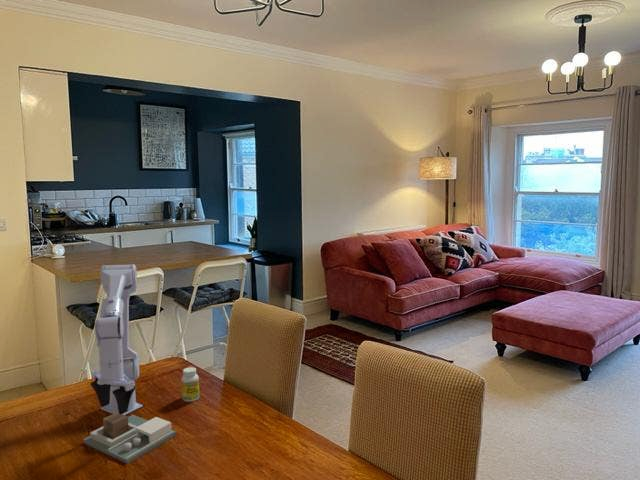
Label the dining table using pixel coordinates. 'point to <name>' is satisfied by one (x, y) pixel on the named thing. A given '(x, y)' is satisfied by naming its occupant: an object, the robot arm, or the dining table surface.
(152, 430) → the cover
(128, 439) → the housing board
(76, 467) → the dining table surface
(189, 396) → the supplement bottle
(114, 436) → the block
